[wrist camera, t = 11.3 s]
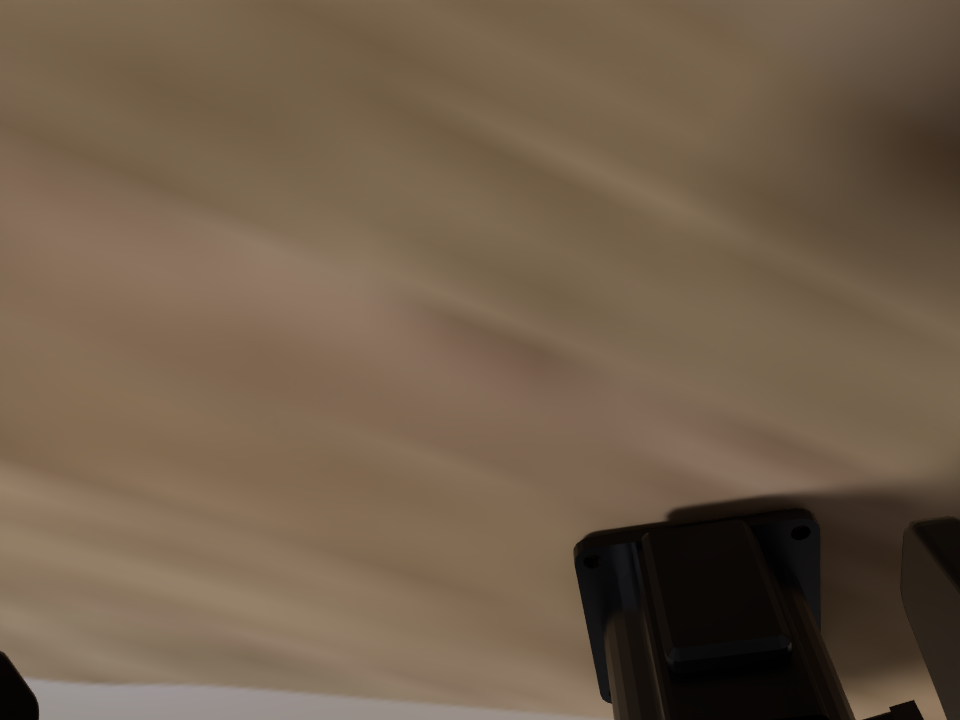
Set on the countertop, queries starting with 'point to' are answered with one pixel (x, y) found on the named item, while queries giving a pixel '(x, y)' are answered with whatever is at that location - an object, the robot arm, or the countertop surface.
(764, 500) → the countertop surface
